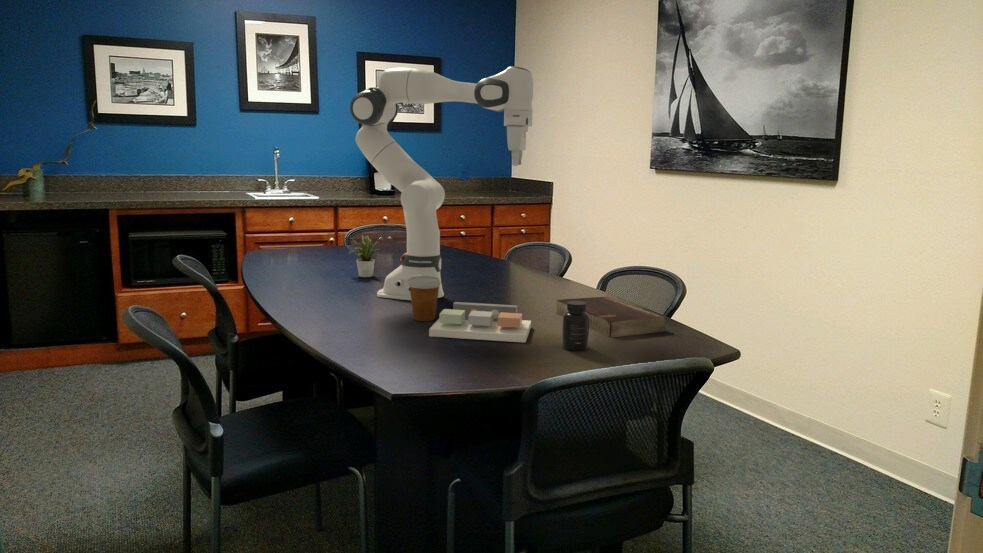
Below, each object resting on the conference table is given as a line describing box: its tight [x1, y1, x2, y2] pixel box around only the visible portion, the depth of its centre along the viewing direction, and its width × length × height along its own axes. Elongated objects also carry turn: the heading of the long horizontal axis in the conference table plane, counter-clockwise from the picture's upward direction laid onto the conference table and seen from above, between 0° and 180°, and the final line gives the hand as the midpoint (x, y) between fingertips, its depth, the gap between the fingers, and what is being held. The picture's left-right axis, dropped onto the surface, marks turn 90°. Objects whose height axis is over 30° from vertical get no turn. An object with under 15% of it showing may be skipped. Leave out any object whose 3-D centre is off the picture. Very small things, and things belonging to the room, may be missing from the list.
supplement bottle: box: [561, 301, 590, 352], centre depth 182 cm, size 7×7×12 cm
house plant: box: [350, 235, 381, 278], centre depth 273 cm, size 14×14×16 cm
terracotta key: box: [498, 312, 523, 328], centre depth 193 cm, size 6×6×2 cm
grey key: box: [468, 311, 494, 326], centre depth 194 cm, size 6×6×2 cm
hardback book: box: [555, 296, 667, 338], centre depth 211 cm, size 29×19×5 cm, turn 26°
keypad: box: [428, 301, 532, 343], centre depth 196 cm, size 26×16×6 cm, turn 82°
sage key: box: [438, 308, 465, 324], centre depth 196 cm, size 6×6×2 cm
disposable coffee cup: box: [408, 276, 442, 322], centre depth 209 cm, size 10×10×12 cm
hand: (516, 165), depth 224 cm, fingers open, 8 cm apart
